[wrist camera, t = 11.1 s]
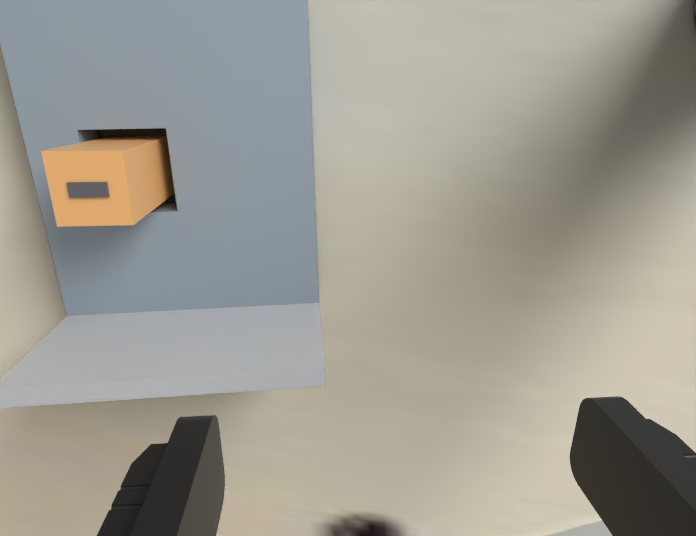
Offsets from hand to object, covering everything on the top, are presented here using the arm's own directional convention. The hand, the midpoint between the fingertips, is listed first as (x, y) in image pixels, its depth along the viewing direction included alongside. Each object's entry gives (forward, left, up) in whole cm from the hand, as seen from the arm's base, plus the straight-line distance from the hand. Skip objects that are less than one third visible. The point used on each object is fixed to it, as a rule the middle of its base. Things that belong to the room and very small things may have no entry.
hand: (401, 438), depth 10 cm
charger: (+13, -3, -27) cm, 30 cm away
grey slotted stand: (+10, -3, -27) cm, 29 cm away
